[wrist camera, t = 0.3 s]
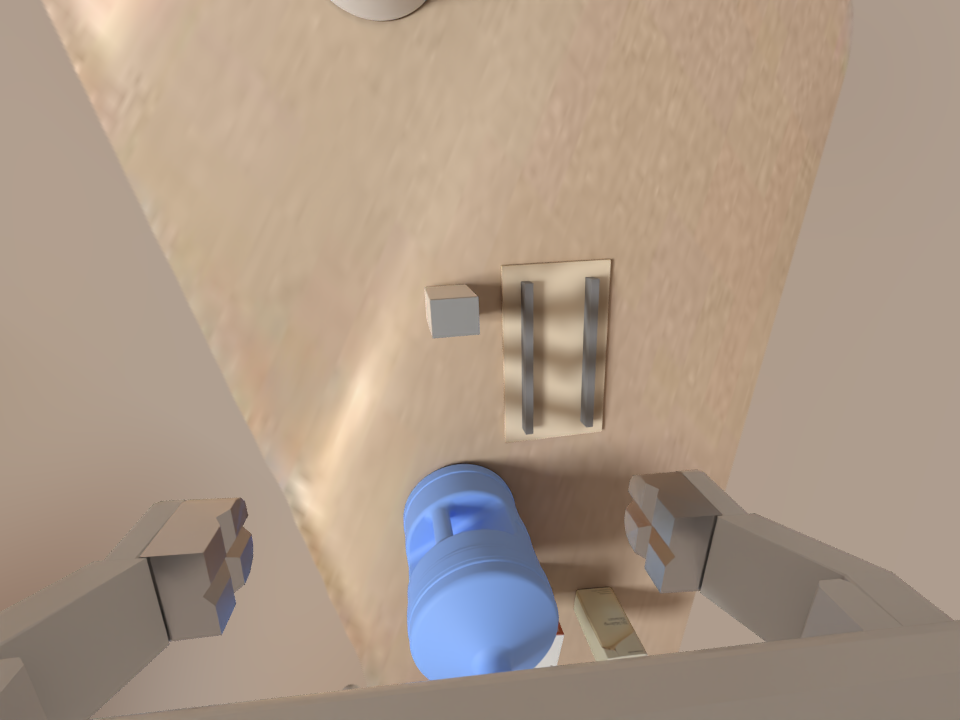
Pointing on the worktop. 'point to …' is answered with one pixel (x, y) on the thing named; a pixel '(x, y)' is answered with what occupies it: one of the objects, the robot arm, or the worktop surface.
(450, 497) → the water jug
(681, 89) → the worktop surface
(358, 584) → the worktop surface
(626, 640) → the skincare box
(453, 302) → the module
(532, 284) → the rail board
